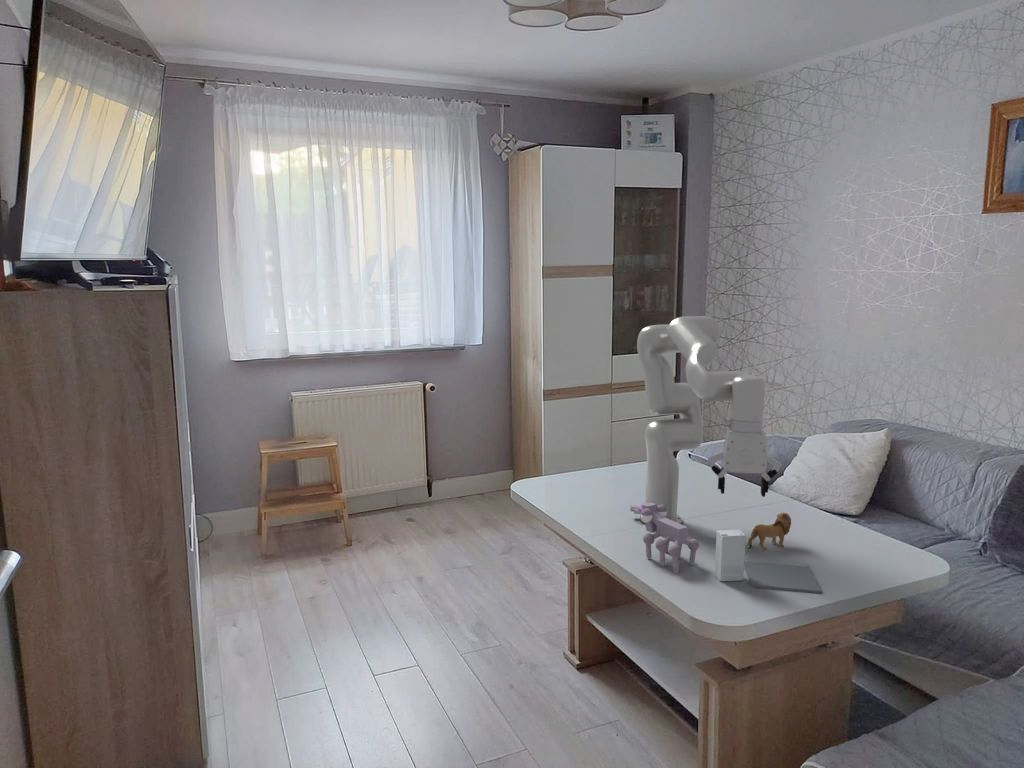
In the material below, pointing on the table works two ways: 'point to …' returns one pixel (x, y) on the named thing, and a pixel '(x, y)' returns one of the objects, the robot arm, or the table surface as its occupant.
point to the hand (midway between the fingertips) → (742, 493)
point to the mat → (781, 577)
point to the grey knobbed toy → (665, 534)
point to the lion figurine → (772, 531)
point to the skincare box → (730, 555)
